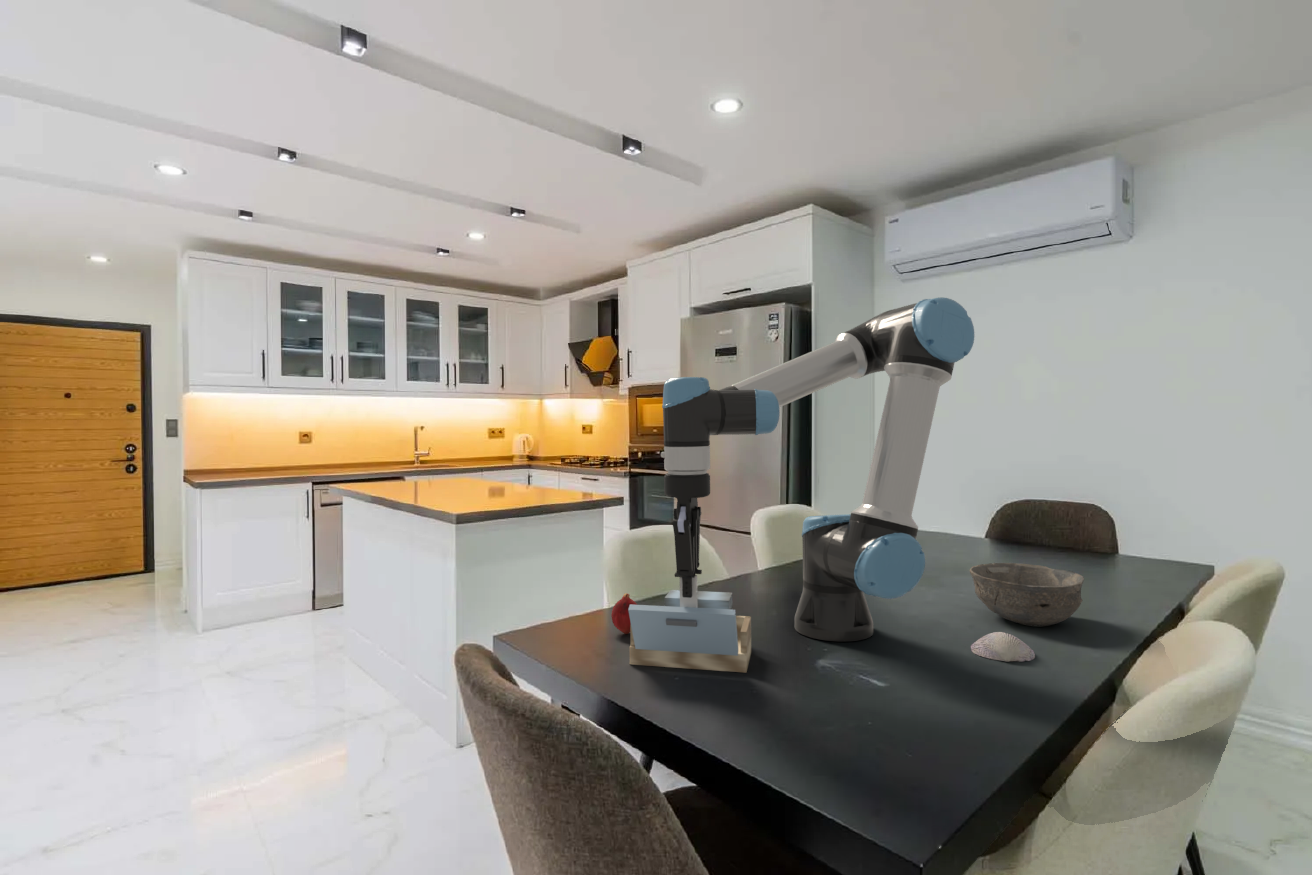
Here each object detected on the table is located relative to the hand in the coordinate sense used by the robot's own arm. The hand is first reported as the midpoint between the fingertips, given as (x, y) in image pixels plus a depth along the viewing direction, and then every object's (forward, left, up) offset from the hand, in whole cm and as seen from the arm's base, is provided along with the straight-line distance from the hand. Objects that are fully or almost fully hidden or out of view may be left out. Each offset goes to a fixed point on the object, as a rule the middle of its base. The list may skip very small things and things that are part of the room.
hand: (688, 614), depth 107 cm
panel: (+1, -2, -6) cm, 7 cm away
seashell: (-53, -20, -10) cm, 58 cm away
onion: (+16, -18, -10) cm, 26 cm away
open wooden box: (+1, -11, -10) cm, 15 cm away
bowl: (-63, -42, -10) cm, 77 cm away
